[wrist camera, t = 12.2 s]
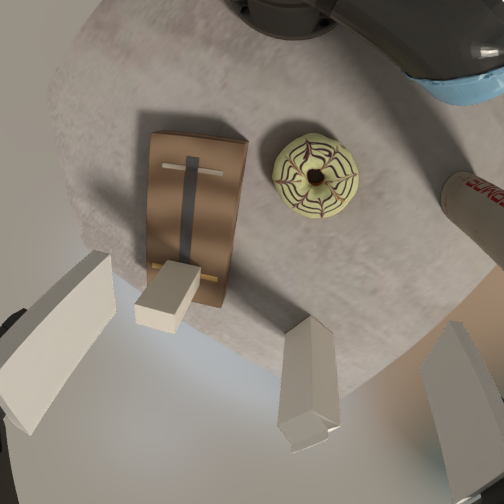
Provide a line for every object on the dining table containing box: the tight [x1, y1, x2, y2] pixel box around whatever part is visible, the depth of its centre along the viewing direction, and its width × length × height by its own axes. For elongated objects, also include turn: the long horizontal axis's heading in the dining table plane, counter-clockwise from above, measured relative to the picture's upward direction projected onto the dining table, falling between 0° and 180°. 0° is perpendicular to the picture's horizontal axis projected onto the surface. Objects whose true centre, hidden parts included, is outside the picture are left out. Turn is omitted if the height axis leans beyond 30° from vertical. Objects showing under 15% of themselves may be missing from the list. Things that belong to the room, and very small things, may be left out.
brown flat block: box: [146, 130, 249, 308], centre depth 42 cm, size 24×12×4 cm, turn 171°
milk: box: [277, 316, 341, 453], centre depth 41 cm, size 6×6×22 cm
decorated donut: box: [272, 133, 359, 218], centre depth 37 cm, size 10×11×4 cm
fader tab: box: [134, 260, 201, 334], centre depth 38 cm, size 3×5×11 cm, turn 81°
